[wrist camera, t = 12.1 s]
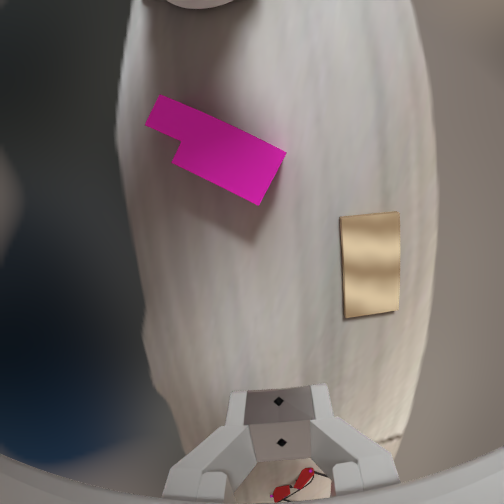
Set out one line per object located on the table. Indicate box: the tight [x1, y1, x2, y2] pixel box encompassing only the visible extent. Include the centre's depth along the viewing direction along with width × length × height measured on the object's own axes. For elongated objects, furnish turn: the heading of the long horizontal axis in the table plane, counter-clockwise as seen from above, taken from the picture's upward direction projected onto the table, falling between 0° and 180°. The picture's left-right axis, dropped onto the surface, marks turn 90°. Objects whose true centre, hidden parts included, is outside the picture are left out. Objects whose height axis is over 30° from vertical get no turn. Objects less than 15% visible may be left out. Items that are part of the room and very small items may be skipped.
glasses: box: [270, 468, 329, 503], centre depth 55 cm, size 14×16×5 cm
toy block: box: [145, 94, 286, 206], centre depth 36 cm, size 15×6×8 cm, turn 63°
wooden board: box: [340, 211, 400, 318], centre depth 42 cm, size 14×8×1 cm, turn 8°
